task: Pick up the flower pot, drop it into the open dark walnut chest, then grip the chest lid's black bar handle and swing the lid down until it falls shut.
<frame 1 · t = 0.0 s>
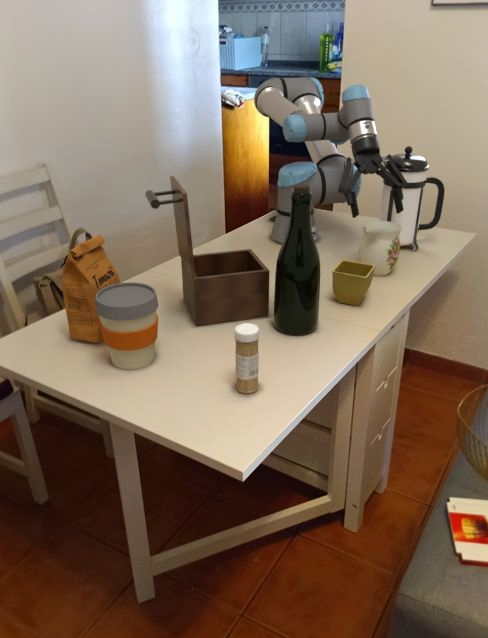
hand: (378, 214, 164), 15 cm above the table, tool tilted 35°, fingers open, 13 cm apart
flower pot: (350, 301, 151), on the table
dark green wine bottle: (295, 326, 139), on the table
lid: (168, 228, 133), point 22 cm above the table, hinge at 93.0°
sprinkles bottle: (246, 389, 116), on the table
coffee package: (99, 333, 137), on the table
pitcher: (378, 270, 169), on the table
reusable coffee cup: (133, 359, 126), on the table
coffee press: (399, 244, 188), on the table
chest: (224, 308, 147), on the table
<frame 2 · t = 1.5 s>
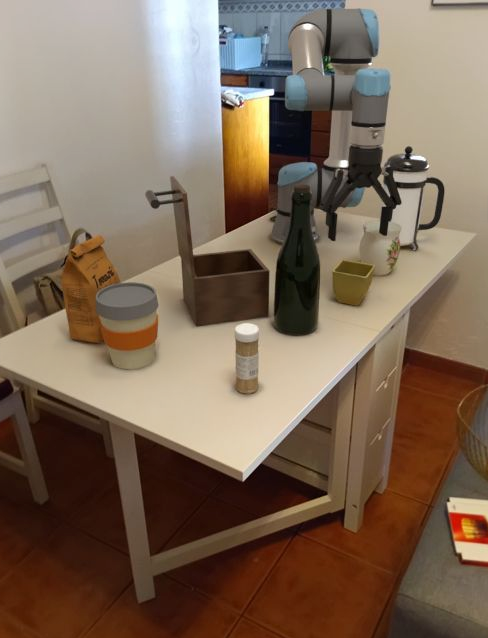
hand: (357, 236, 143), 17 cm above the table, tool pointing down, fingers open, 13 cm apart
nothing on the table moved.
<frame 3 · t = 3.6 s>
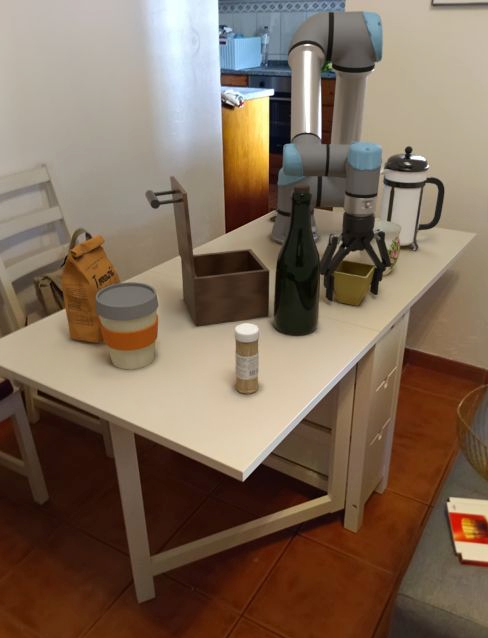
hand: (351, 296, 151), 1 cm above the table, tool pointing down, fingers closed on flower pot, 12 cm apart
flower pot: (350, 301, 151), on the table, touching gripper
everything else where it was.
when the fingers open (10 cm above the table, at t = 12.0 s): flower pot drops 7 cm, point 1 cm above the table.
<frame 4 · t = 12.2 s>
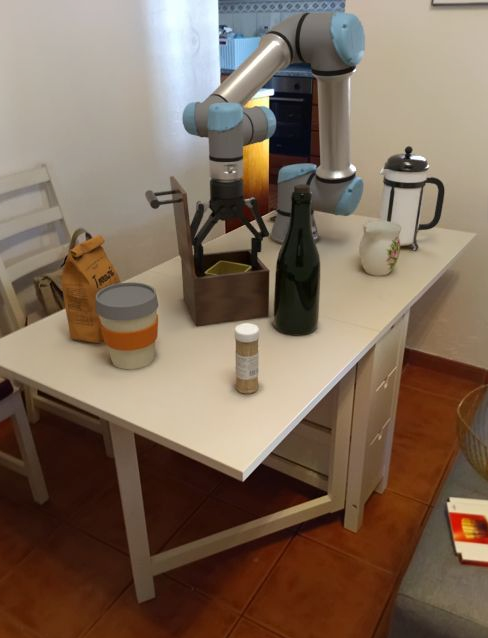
hand: (228, 268, 143), 11 cm above the table, tool pointing down, fingers open, 12 cm apart
flower pot: (229, 303, 147), point 1 cm above the table
lid: (168, 228, 133), point 22 cm above the table, hinge at 93.2°, touching gripper
everything else where it was.
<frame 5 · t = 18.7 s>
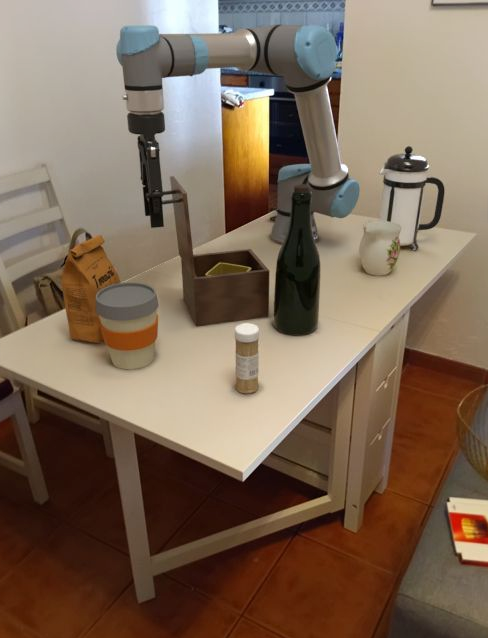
hand: (154, 220, 132), 24 cm above the table, tool pointing down, fingers closed on lid, 8 cm apart
flower pot: (229, 305, 147), point 1 cm above the table, touching chest
lid: (168, 228, 133), point 22 cm above the table, hinge at 93.1°, touching gripper
everything else where it was.
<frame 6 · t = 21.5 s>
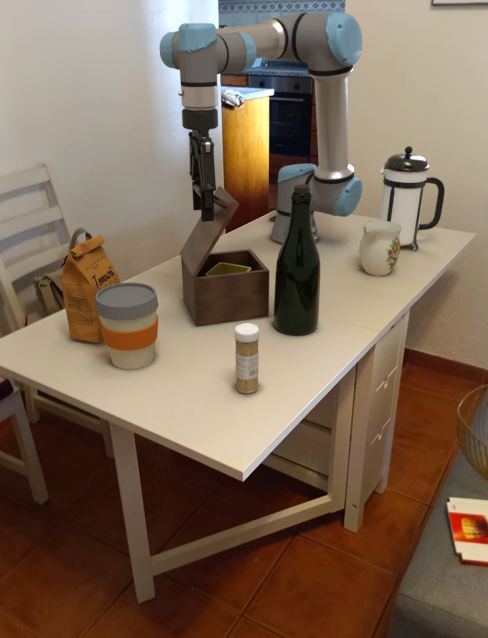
hand: (203, 214, 134), 24 cm above the table, tool pointing down, fingers closed on lid, 8 cm apart
lid: (195, 224, 135), point 22 cm above the table, hinge at 56.6°, touching gripper
everything else where it was.
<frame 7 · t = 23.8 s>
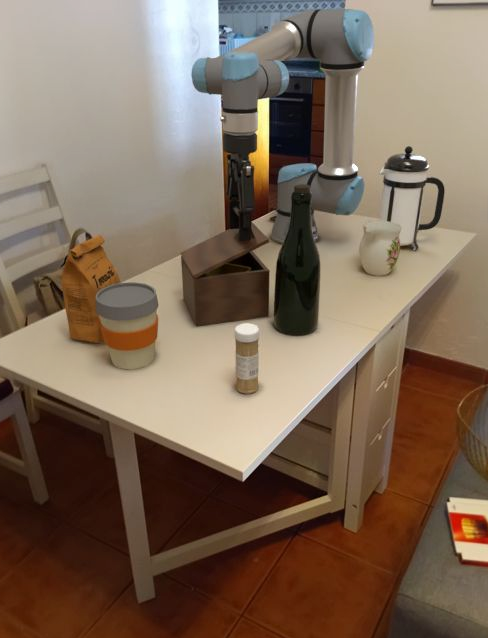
hand: (239, 234, 139), 19 cm above the table, tool pointing down, fingers closed on lid, 8 cm apart
lid: (218, 235, 138), point 19 cm above the table, hinge at 21.0°, touching gripper
everything else where it was.
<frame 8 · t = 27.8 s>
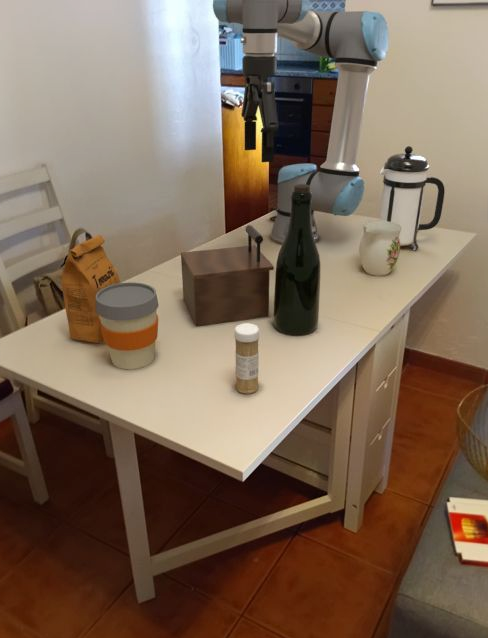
hand: (258, 155, 139), 35 cm above the table, tool pointing down, fingers open, 13 cm apart
lid: (225, 248, 140), point 16 cm above the table, hinge at -0.1°
everything else where it was.
at the end: flower pot inside the target area in the chest (1.1 cm from its centre), point 0.8 cm above the chest's base; lid at +0° (first picture: +93°) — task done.
